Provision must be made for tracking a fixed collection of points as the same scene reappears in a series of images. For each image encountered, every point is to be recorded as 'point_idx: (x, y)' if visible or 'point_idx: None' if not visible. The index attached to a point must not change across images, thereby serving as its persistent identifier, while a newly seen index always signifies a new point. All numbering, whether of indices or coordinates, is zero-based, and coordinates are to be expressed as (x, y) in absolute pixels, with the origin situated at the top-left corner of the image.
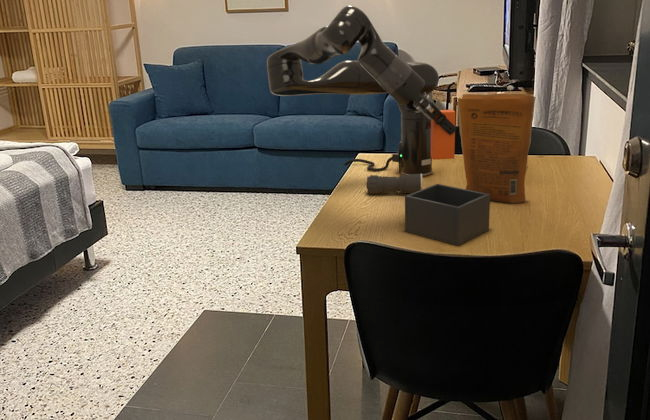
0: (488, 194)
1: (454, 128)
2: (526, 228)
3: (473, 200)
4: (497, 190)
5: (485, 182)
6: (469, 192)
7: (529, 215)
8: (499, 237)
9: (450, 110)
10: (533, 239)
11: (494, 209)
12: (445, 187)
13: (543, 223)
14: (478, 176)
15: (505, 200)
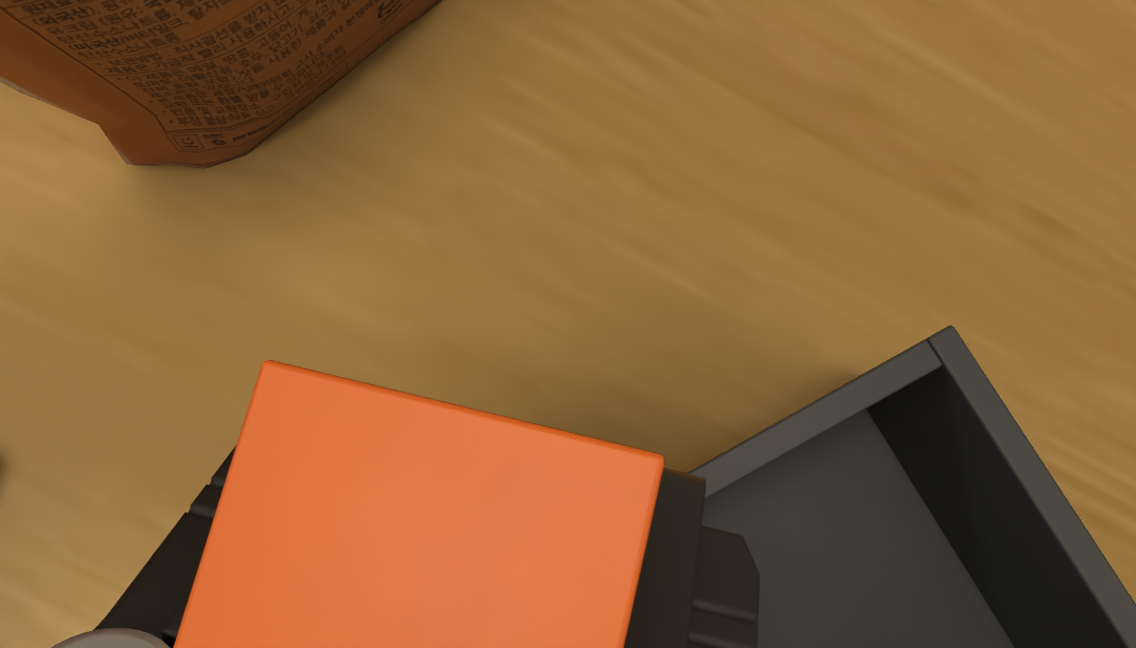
0: (956, 342)
1: (744, 545)
2: (919, 151)
3: (1080, 548)
4: (369, 17)
5: (284, 52)
6: (802, 444)
7: (705, 12)
8: (1016, 383)
9: (387, 491)
10: (1112, 214)
11: (509, 144)
12: None
13: (871, 16)
14: (207, 63)
15: (420, 11)
